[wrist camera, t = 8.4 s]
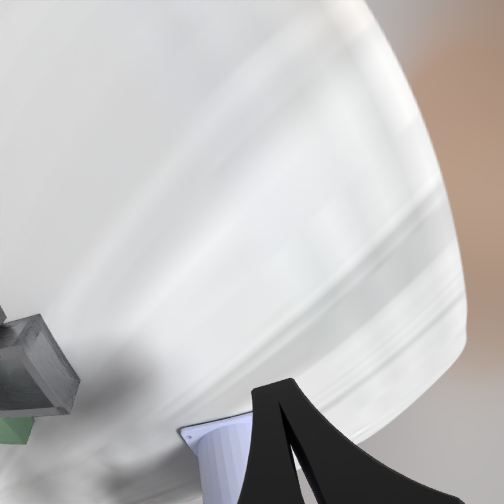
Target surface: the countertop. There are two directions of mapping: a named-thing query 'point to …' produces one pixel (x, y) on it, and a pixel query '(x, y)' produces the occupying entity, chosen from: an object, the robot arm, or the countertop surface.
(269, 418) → the robot arm
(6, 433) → the green pronged block
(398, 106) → the countertop surface
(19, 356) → the chute
